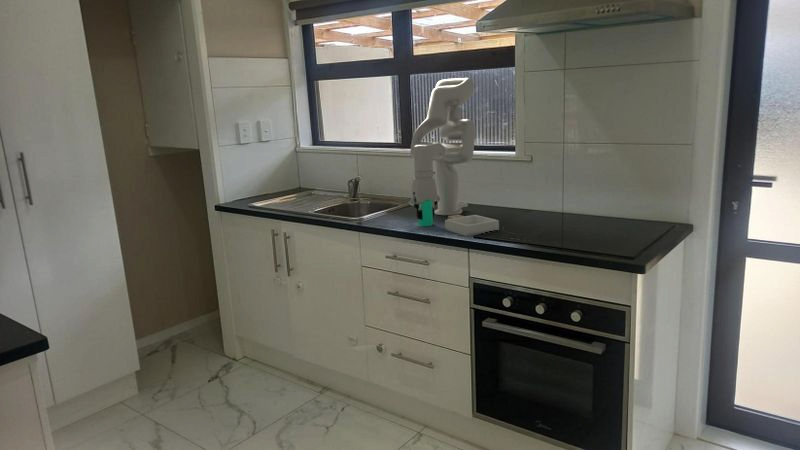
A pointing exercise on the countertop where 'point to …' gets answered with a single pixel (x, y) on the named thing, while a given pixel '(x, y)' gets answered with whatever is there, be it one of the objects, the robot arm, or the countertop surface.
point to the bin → (471, 225)
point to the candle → (426, 214)
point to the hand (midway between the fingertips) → (425, 217)
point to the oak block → (454, 216)
